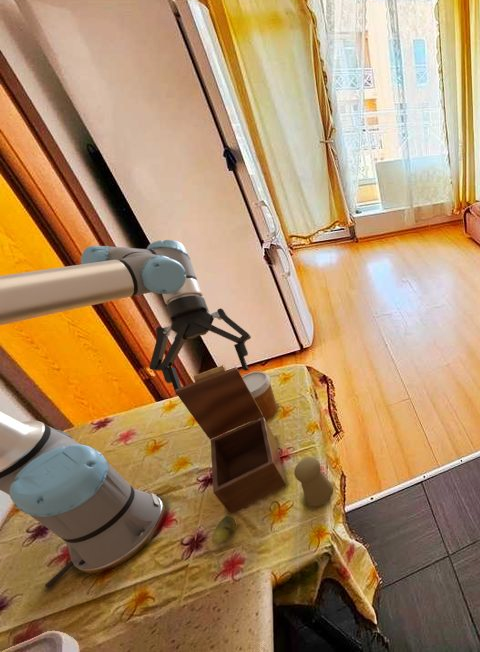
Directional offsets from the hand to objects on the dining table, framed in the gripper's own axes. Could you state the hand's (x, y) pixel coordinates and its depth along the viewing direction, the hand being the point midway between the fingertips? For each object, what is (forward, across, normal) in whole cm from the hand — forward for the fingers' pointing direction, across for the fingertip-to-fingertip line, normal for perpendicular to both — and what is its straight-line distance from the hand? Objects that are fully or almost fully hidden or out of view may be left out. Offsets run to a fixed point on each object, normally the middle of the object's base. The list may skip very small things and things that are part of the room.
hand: (214, 381), depth 85 cm
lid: (+6, 0, 0) cm, 6 cm away
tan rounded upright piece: (+34, -12, +3) cm, 36 cm away
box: (+24, 0, -7) cm, 25 cm away
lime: (+33, +6, +2) cm, 33 cm away
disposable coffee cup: (+10, -5, -21) cm, 24 cm away
